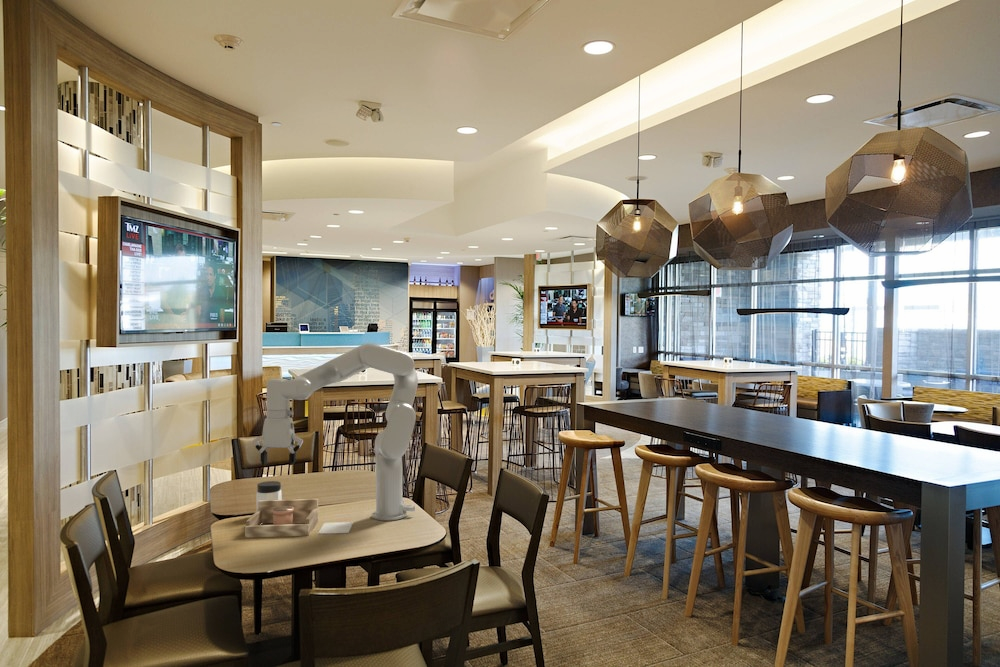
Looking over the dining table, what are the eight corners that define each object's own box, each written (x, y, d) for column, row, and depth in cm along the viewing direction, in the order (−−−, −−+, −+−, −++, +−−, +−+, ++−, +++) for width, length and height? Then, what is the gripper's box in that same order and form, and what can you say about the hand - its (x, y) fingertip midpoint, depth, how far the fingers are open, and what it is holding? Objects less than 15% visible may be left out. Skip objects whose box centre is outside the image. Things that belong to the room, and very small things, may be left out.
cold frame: (318, 521, 233) (317, 498, 233) (308, 535, 217) (308, 511, 217) (259, 523, 231) (259, 500, 231) (245, 537, 215) (244, 513, 215)
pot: (296, 525, 228) (296, 505, 228) (291, 532, 221) (291, 511, 221) (275, 526, 227) (274, 506, 227) (269, 532, 220) (269, 511, 220)
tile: (353, 522, 231) (353, 521, 231) (348, 533, 219) (348, 532, 219) (324, 523, 230) (324, 522, 230) (317, 534, 218) (317, 533, 218)
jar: (259, 520, 234) (259, 487, 234) (253, 515, 241) (253, 483, 241) (284, 516, 239) (284, 483, 239) (278, 511, 246) (278, 479, 246)
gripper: (306, 413, 229) (306, 462, 229) (258, 413, 230) (258, 461, 230) (298, 416, 222) (298, 466, 221) (248, 415, 222) (248, 466, 222)
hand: (278, 464), depth 226 cm, fingers open, 9 cm apart
